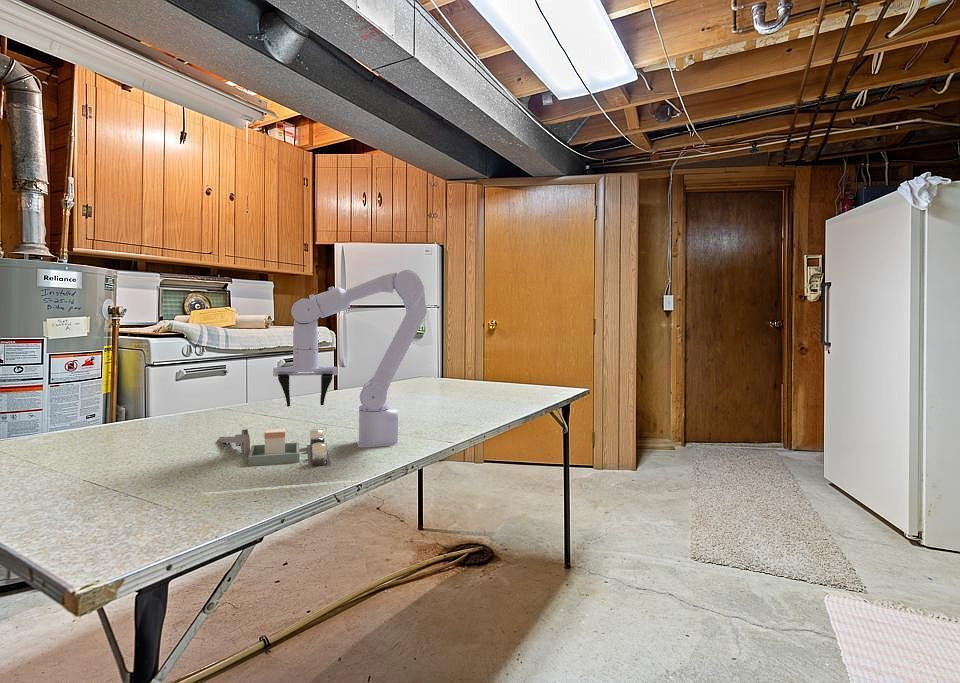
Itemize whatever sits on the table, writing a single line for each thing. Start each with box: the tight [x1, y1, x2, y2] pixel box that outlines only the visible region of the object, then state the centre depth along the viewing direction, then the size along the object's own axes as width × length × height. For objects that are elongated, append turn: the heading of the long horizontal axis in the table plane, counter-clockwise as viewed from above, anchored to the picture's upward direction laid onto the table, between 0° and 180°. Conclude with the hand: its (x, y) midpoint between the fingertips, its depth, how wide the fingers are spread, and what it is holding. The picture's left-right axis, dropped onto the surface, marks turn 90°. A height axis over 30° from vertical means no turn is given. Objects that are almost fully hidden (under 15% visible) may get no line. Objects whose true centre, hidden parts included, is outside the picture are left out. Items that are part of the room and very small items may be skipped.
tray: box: [247, 442, 301, 467], centre depth 113 cm, size 10×10×2 cm
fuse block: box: [306, 428, 332, 468], centre depth 116 cm, size 4×19×4 cm, turn 20°
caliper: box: [217, 428, 251, 456], centre depth 122 cm, size 20×1×6 cm, turn 43°
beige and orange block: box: [263, 427, 286, 455], centre depth 113 cm, size 4×4×6 cm
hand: (305, 405), depth 125 cm, fingers open, 7 cm apart
